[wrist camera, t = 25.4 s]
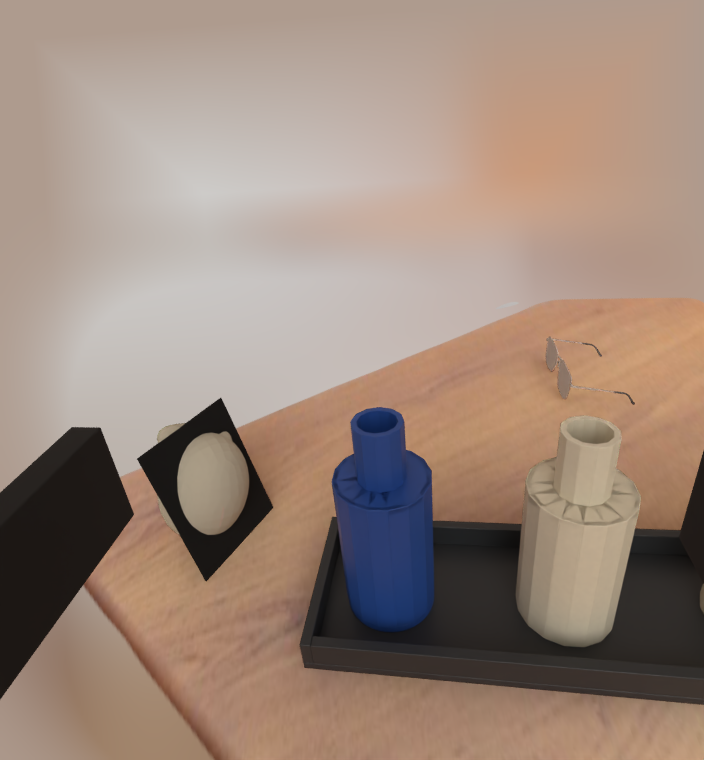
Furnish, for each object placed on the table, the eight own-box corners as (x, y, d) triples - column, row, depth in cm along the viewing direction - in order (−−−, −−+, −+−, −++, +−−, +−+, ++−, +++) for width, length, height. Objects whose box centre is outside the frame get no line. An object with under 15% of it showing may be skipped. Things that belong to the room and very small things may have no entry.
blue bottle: (452, 597, 41) (452, 420, 33) (386, 650, 37) (369, 468, 29) (394, 548, 46) (383, 384, 38) (332, 591, 42) (304, 421, 34)
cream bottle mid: (630, 613, 39) (676, 430, 31) (577, 671, 35) (614, 482, 27) (550, 560, 44) (571, 391, 36) (497, 606, 40) (508, 430, 32)
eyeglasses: (542, 356, 75) (547, 331, 74) (600, 359, 75) (606, 333, 73) (566, 407, 63) (572, 378, 61) (634, 410, 63) (643, 382, 61)
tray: (794, 558, 42) (804, 534, 40) (919, 725, 31) (938, 699, 29) (335, 537, 48) (332, 516, 47) (304, 667, 37) (299, 645, 36)
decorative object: (154, 572, 49) (223, 504, 57) (228, 585, 43) (294, 508, 51) (86, 459, 45) (171, 403, 52) (158, 458, 39) (242, 395, 47)
